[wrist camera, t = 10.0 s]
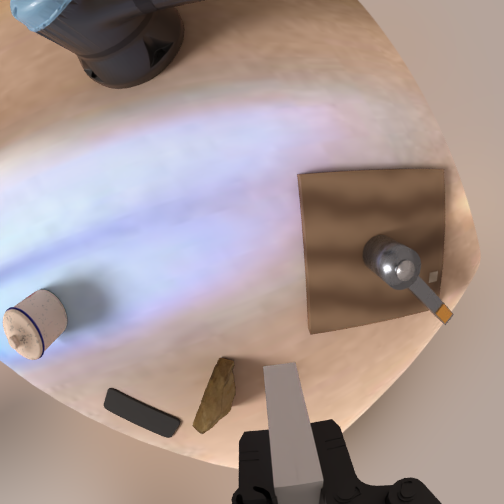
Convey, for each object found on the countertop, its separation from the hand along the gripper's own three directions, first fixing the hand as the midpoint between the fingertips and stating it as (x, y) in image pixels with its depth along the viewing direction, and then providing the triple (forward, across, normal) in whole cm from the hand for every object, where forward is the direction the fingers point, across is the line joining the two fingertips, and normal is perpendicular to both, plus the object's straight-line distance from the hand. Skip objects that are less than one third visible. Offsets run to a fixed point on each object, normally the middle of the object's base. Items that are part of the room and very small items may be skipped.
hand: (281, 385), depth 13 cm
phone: (+27, -26, -30) cm, 48 cm away
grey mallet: (+24, +20, -6) cm, 32 cm away
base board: (+26, +17, -2) cm, 31 cm away
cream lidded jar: (+27, -38, -8) cm, 47 cm away
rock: (+27, -8, -22) cm, 36 cm away
